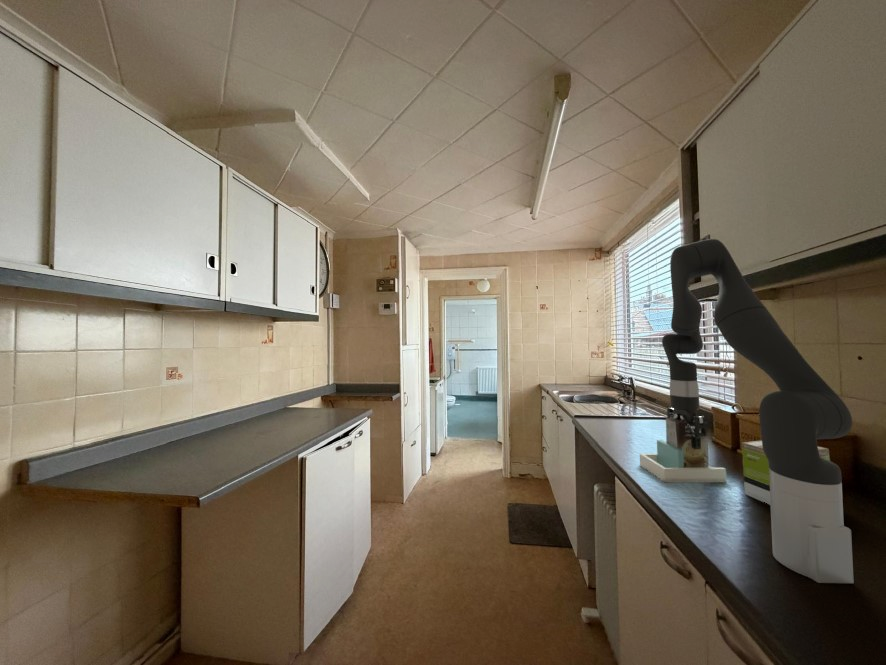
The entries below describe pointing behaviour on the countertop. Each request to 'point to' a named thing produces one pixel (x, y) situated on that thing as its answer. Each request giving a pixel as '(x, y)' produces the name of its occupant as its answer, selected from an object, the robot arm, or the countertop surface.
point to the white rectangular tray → (681, 471)
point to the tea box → (761, 470)
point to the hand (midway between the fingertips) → (686, 444)
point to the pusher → (669, 455)
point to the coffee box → (687, 443)
